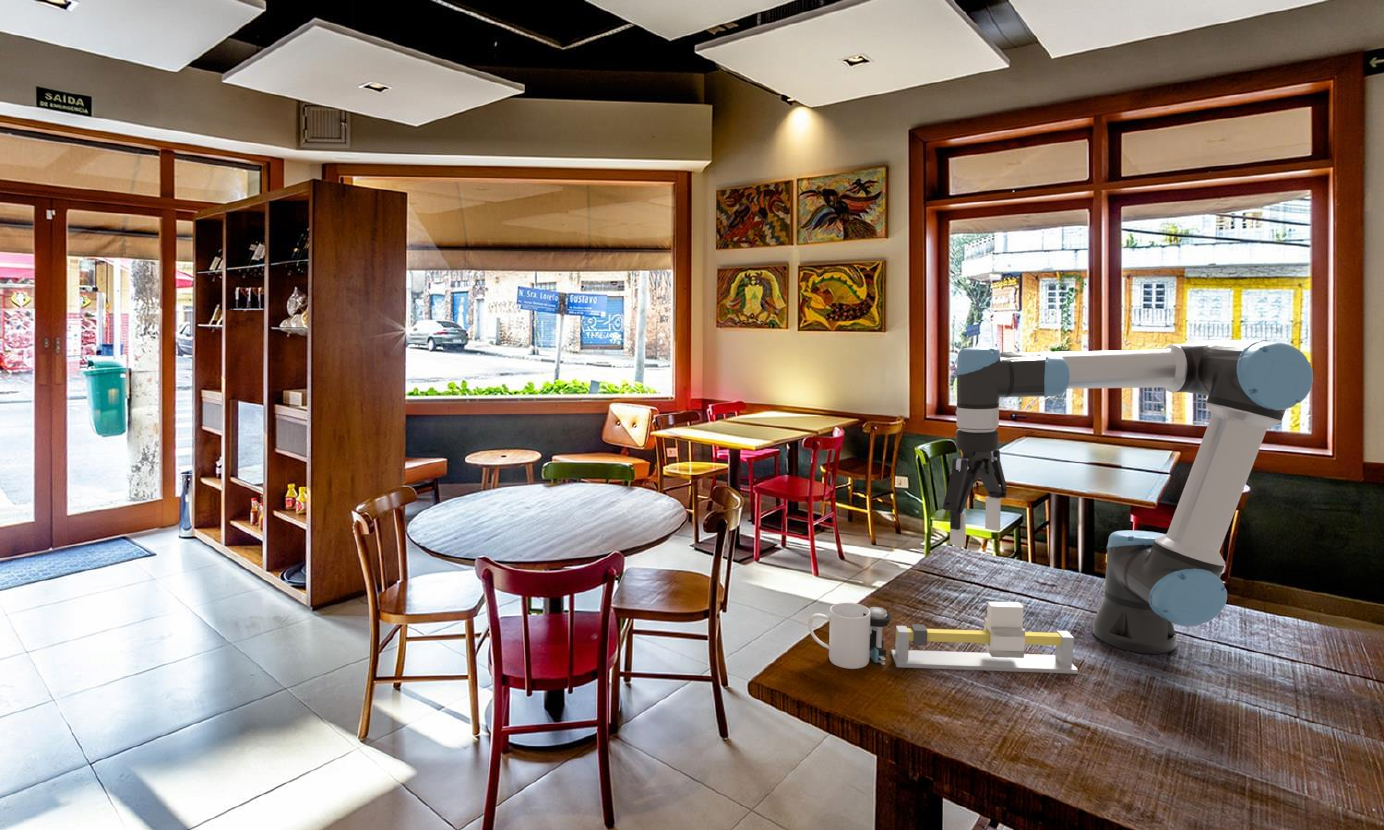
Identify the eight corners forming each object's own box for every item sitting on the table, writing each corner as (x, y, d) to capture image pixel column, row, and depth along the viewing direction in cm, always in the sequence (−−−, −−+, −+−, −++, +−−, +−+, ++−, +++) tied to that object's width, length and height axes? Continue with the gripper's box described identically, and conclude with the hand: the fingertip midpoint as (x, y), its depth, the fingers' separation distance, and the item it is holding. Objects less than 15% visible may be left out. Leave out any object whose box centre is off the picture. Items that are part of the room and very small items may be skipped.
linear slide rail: (1065, 659, 148) (1067, 627, 147) (1077, 673, 142) (1079, 640, 141) (891, 653, 151) (892, 622, 150) (896, 667, 145) (897, 635, 144)
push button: (896, 666, 146) (898, 617, 144) (870, 667, 145) (872, 619, 143) (882, 650, 152) (884, 604, 151) (857, 652, 151) (859, 605, 150)
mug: (863, 650, 152) (864, 601, 151) (873, 668, 144) (875, 617, 143) (804, 652, 152) (805, 603, 150) (812, 670, 144) (812, 619, 143)
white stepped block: (1014, 645, 148) (1016, 599, 147) (1023, 657, 143) (1026, 610, 141) (983, 644, 149) (985, 598, 147) (991, 656, 143) (994, 609, 142)
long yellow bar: (1061, 643, 146) (1062, 628, 145) (1067, 650, 143) (1068, 635, 142) (895, 637, 149) (896, 623, 148) (898, 644, 146) (898, 629, 146)
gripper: (990, 419, 152) (988, 520, 154) (923, 435, 135) (923, 548, 138) (1026, 422, 146) (1024, 526, 149) (962, 440, 130) (960, 556, 133)
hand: (975, 537), depth 143 cm, fingers open, 13 cm apart
